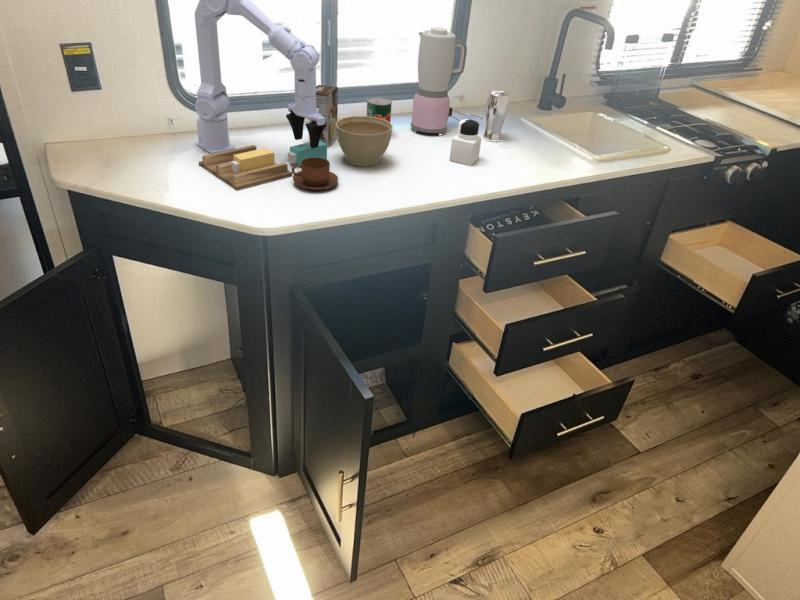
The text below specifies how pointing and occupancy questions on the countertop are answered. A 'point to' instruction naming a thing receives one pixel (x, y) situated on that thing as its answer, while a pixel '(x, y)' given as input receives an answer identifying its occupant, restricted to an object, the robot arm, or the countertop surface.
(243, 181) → the comb board
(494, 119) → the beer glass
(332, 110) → the coffee box
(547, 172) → the countertop surface
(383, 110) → the canned tomato
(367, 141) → the planter bowl
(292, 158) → the teal plug block
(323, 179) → the cup and saucer
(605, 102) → the countertop surface
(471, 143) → the medicine bottle
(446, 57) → the blender
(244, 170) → the ochre plug block
